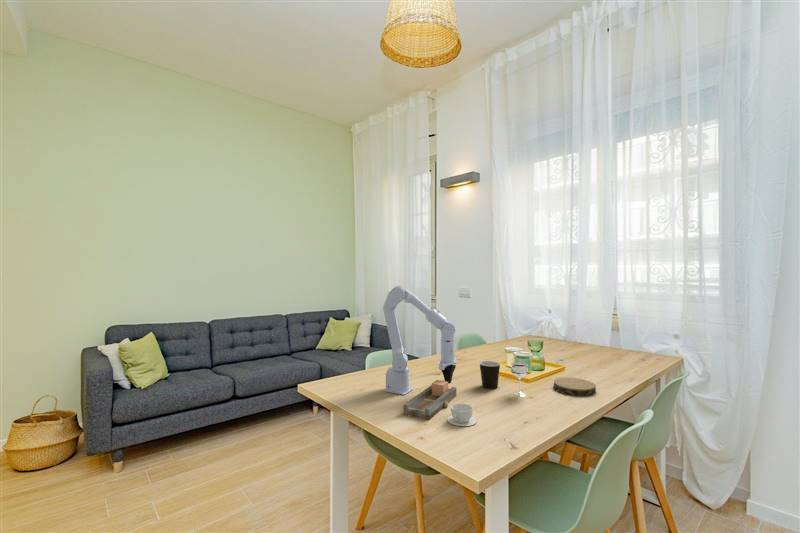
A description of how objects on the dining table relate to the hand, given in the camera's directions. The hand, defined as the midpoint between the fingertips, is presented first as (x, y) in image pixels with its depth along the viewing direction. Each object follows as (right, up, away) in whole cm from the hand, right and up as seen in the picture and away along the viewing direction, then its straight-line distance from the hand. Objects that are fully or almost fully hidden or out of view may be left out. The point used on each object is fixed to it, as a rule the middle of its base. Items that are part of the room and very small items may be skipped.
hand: (448, 382), depth 155 cm
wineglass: (+29, -4, -4) cm, 29 cm away
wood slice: (+53, -4, +1) cm, 53 cm away
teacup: (+1, -4, -29) cm, 30 cm away
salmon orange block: (-4, -2, -8) cm, 9 cm away
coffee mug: (+20, -4, +7) cm, 21 cm away
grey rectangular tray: (-8, -4, -15) cm, 17 cm away
